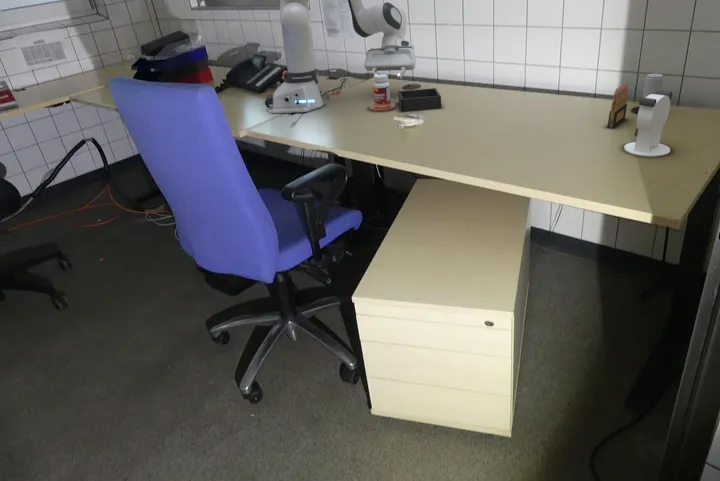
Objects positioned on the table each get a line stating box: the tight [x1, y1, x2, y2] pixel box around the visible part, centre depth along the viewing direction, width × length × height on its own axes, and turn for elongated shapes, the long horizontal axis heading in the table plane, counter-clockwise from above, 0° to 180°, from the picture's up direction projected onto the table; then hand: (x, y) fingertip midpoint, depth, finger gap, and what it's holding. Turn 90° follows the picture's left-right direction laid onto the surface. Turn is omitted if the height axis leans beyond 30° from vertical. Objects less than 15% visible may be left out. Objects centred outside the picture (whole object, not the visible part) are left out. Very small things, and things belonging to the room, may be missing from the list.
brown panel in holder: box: [607, 81, 629, 129], centre depth 169 cm, size 11×2×12 cm, turn 140°
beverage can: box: [642, 73, 664, 98], centre depth 176 cm, size 5×5×12 cm
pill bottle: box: [372, 73, 391, 108], centre depth 206 cm, size 6×6×11 cm
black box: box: [397, 87, 442, 112], centre depth 207 cm, size 15×13×4 cm
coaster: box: [368, 102, 396, 113], centre depth 209 cm, size 10×10×1 cm
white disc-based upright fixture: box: [623, 89, 673, 158], centre depth 147 cm, size 12×11×15 cm
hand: (387, 78), depth 213 cm, fingers open, 8 cm apart
